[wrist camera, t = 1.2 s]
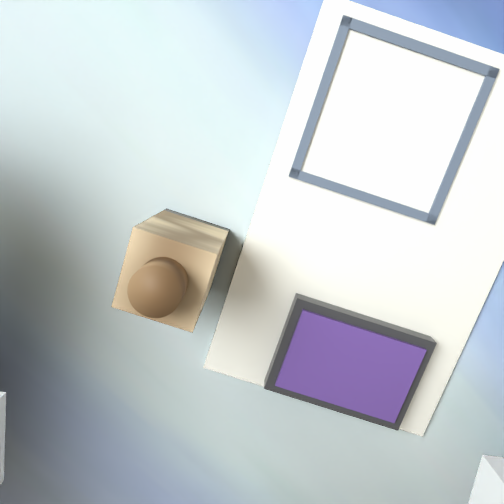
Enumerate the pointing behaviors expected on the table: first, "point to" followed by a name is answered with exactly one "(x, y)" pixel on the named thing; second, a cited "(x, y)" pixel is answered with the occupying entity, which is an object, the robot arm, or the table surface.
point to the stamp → (170, 268)
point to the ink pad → (348, 362)
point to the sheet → (377, 195)
